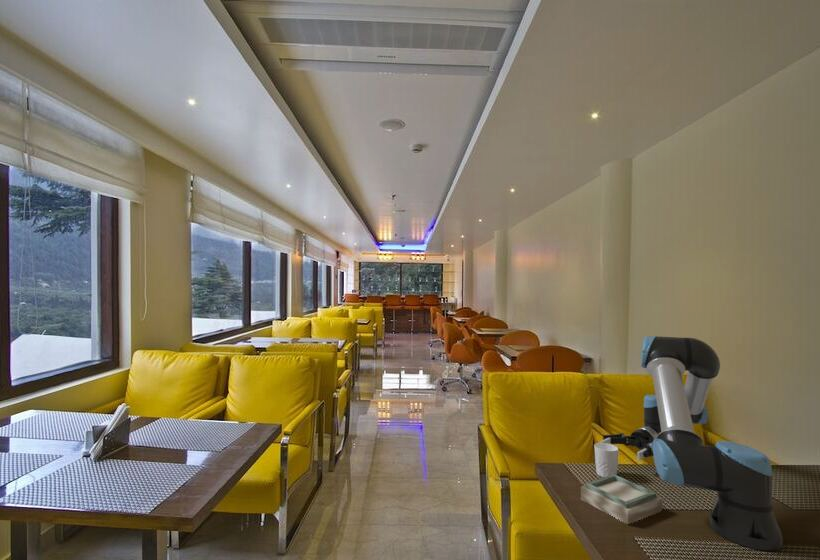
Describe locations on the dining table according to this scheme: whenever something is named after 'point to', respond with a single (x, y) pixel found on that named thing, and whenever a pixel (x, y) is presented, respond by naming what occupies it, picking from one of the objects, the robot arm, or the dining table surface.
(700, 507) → the dining table surface
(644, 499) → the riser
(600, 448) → the white cup
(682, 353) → the robot arm
